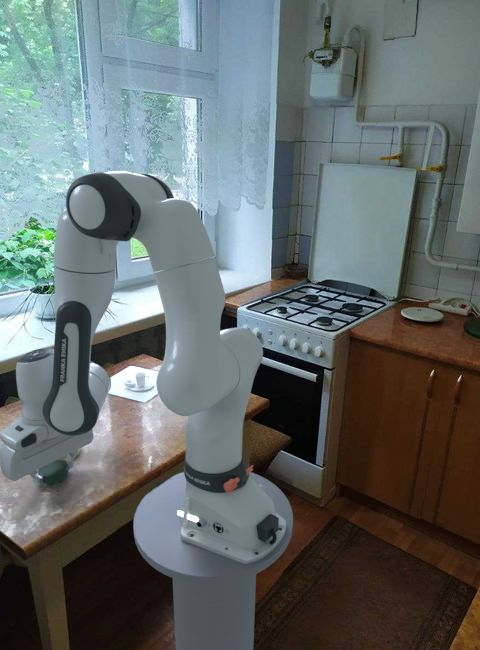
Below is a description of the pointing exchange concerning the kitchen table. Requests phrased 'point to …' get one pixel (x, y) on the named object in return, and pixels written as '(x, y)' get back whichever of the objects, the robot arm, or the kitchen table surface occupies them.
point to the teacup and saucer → (135, 384)
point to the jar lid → (54, 471)
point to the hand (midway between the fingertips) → (54, 475)
